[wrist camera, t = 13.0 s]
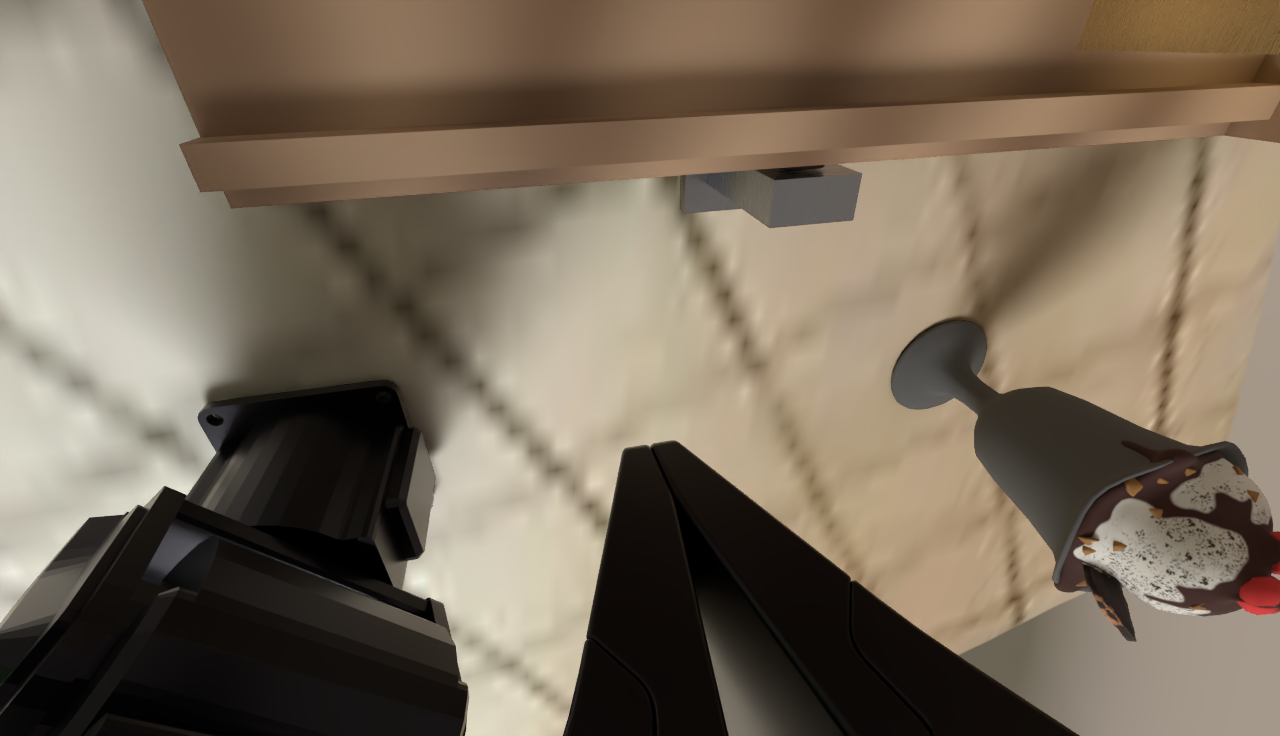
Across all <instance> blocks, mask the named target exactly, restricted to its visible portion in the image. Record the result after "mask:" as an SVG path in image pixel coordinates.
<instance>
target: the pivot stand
mask: <svg viewBox="0 0 1280 736" xmlns="http://www.w3.org/2000/svg"><path fill="white" fill-rule="evenodd" d="M861 177H862V173H859V172H857V171H854V170H851V169H849V168H846V167H843V166H841V165H838V164H828V165H825V166H824V167H823V168H819V169H812V170H797V169H788V168H773V169H759V170H746V171H732V172H719V173H705V174H691V175H681V180H680V209H681V210H682V211H683V212H684V213H697V212H708V211H720V210H731V209H743V210H745V211H746V212H747V213H749V214H750V215H752V216H753V217H754V218H756V219H757V220H759V221H760V222H761V223H763V224H764V225H766V226H767V227H768V228H776V227H787V226H797V225H808V224H819V223H829V222H840V221H851V220H853V218H854V213H855V208H856V203H857V197H858V192H859V187H860V182H861Z"/></svg>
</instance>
